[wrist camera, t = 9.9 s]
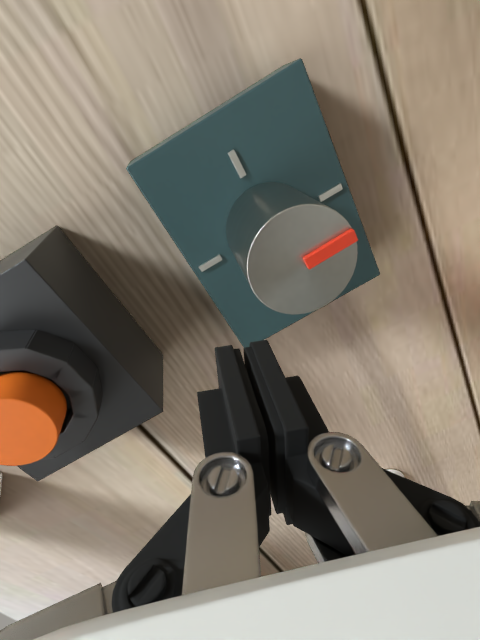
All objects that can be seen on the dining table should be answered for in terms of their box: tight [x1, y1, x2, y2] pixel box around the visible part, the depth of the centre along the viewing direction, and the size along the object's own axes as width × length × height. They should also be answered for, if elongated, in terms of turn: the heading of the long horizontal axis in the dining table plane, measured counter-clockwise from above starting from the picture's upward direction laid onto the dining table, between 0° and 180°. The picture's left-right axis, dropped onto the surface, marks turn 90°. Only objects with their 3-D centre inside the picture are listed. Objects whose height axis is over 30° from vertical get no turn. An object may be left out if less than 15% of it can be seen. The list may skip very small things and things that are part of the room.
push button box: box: [0, 226, 163, 481], centre depth 22 cm, size 11×9×8 cm
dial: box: [226, 182, 358, 314], centre depth 19 cm, size 5×5×6 cm
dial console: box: [126, 59, 380, 348], centre depth 23 cm, size 13×10×3 cm
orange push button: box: [0, 372, 67, 466], centre depth 18 cm, size 4×4×2 cm
